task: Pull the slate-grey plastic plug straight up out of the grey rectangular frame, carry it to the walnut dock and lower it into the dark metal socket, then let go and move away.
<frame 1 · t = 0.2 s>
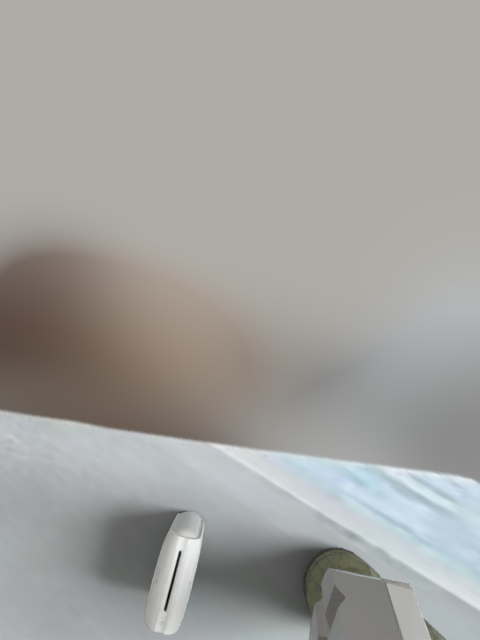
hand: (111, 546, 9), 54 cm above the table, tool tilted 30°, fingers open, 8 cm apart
thermos: (337, 584, 58), on the table
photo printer: (181, 553, 58), on the table
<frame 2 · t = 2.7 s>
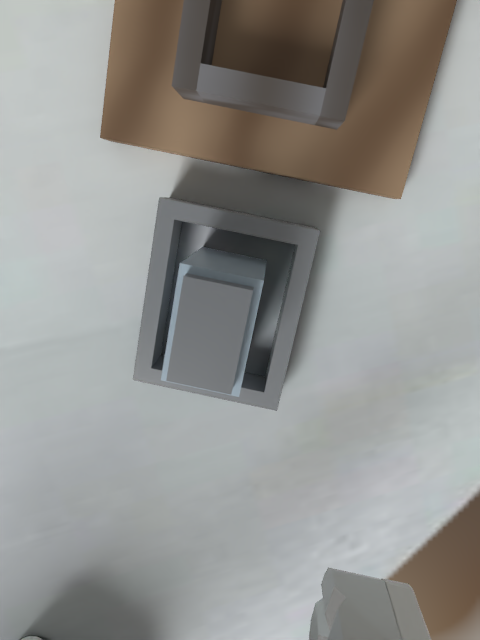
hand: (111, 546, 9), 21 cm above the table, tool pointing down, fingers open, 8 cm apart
dock: (280, 16, 25), on the table
grey rectangular frame: (225, 300, 29), on the table
plug: (218, 315, 25), in the grey rectangular frame
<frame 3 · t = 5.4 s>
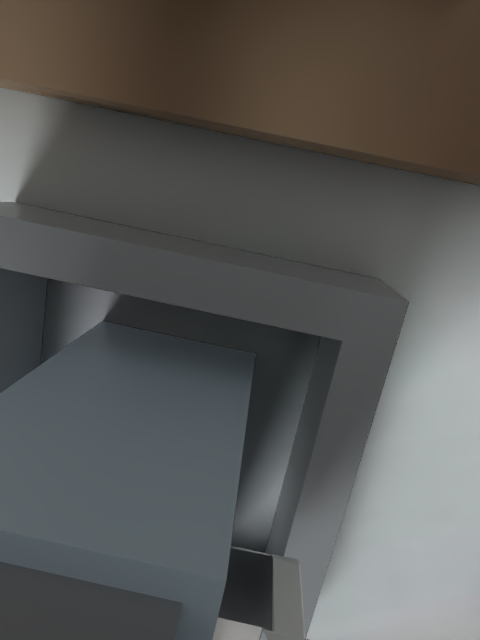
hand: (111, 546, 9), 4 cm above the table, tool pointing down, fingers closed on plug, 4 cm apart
grey rectangular frame: (160, 441, 13), on the table
plug: (110, 548, 9), in the grey rectangular frame, touching gripper
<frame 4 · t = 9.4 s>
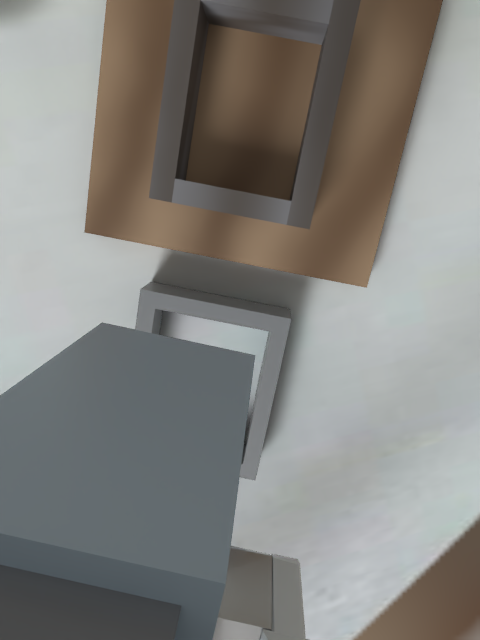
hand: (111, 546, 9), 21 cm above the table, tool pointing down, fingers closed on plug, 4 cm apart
dock: (251, 120, 27), on the table
grey rectangular frame: (206, 374, 31), on the table
plug: (109, 549, 9), point 22 cm above the table, touching gripper
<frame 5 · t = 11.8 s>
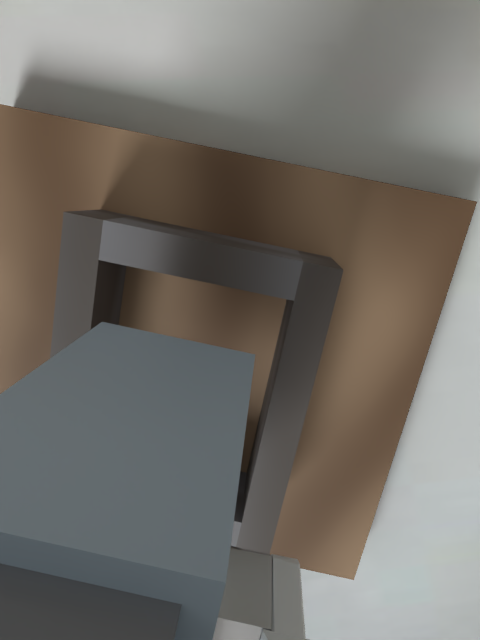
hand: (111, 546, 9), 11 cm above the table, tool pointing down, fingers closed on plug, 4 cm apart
dock: (197, 354, 19), on the table
plug: (109, 549, 9), point 11 cm above the table, touching gripper
when the fingers open (6 cm above the table, at t = 13.7 s): plug stays where it is, resting on dock.
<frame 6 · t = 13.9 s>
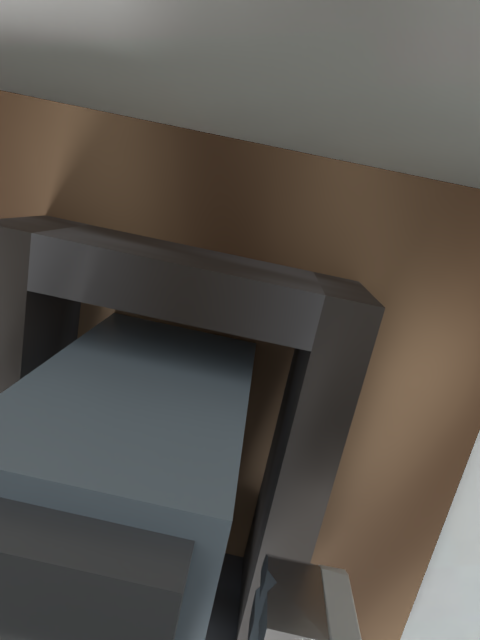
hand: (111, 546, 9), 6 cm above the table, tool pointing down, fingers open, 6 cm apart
dock: (180, 401, 15), on the table
plug: (124, 515, 10), in the dock, point 6 cm above the table
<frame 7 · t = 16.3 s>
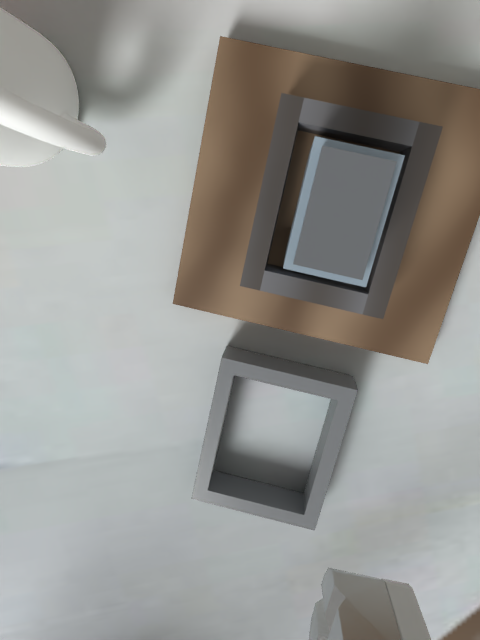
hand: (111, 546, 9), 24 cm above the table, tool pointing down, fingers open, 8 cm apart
dock: (328, 209, 29), on the table
grey rectangular frame: (271, 429, 34), on the table
mug: (49, 115, 30), on the table
plug: (335, 212, 24), in the dock, point 6 cm above the table
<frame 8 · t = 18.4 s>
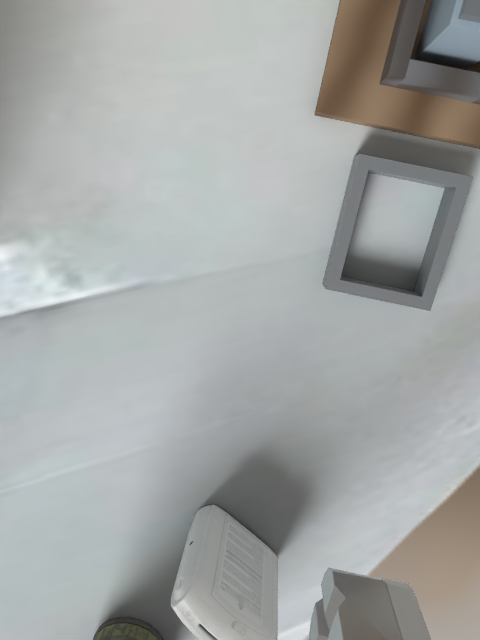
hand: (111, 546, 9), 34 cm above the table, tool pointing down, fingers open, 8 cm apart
dock: (446, 27, 36), on the table
grey rectangular frame: (388, 232, 40), on the table
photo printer: (234, 536, 49), on the table
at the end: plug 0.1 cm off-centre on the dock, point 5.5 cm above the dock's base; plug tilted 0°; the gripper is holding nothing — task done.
